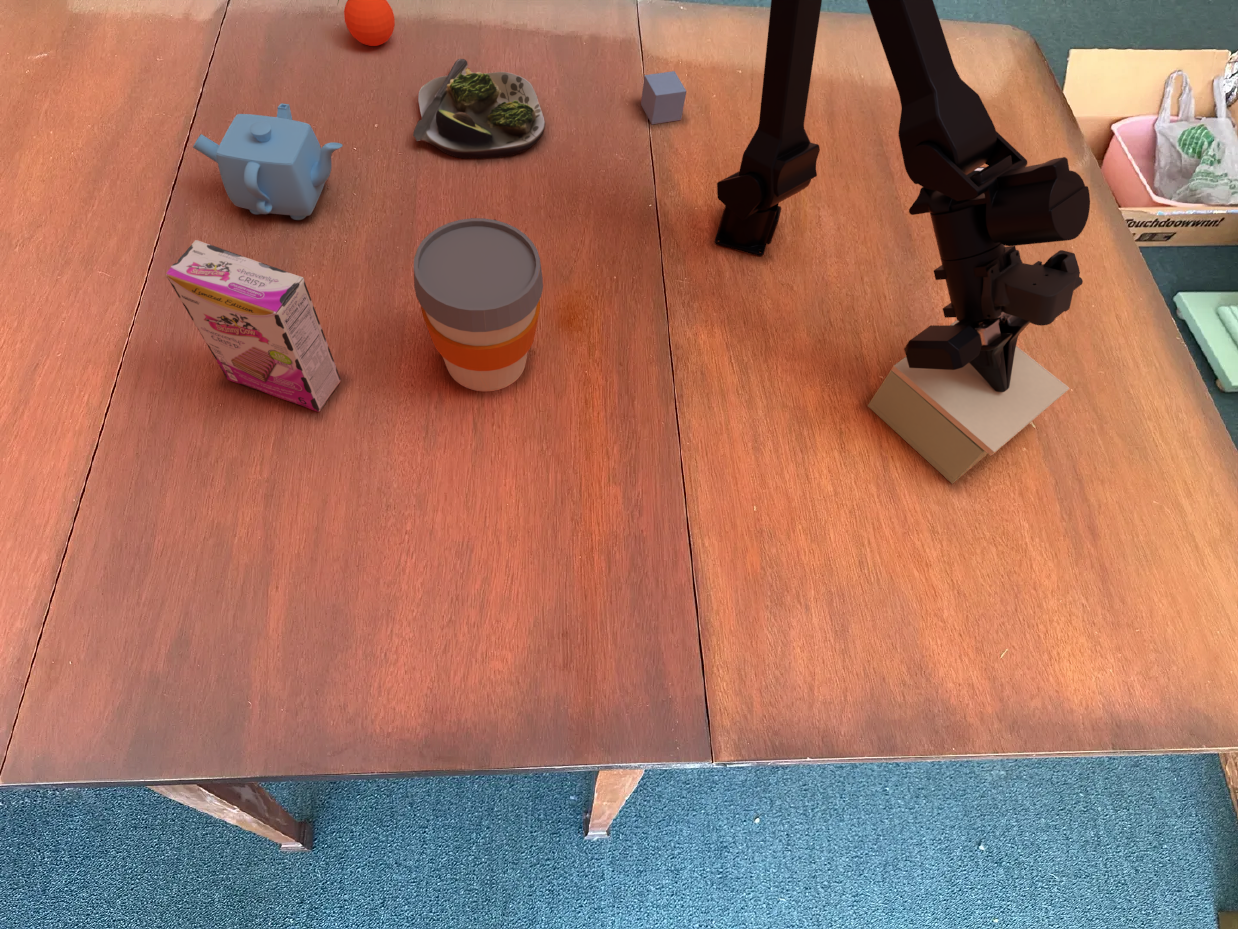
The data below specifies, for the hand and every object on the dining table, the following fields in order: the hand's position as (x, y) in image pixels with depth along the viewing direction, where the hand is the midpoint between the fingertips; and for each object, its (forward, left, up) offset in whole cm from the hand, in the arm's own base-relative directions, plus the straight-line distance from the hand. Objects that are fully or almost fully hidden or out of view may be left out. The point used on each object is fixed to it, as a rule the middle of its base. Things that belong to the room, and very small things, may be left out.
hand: (1002, 390), depth 81 cm
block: (-46, +42, -8) cm, 63 cm away
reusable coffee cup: (-54, -8, -8) cm, 56 cm away
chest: (-2, +2, -8) cm, 9 cm away
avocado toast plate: (-69, +30, -8) cm, 76 cm away
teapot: (-86, +8, -8) cm, 87 cm away
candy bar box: (-73, -18, -8) cm, 76 cm away
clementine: (-90, +41, -8) cm, 99 cm away
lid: (-2, +1, -1) cm, 3 cm away
